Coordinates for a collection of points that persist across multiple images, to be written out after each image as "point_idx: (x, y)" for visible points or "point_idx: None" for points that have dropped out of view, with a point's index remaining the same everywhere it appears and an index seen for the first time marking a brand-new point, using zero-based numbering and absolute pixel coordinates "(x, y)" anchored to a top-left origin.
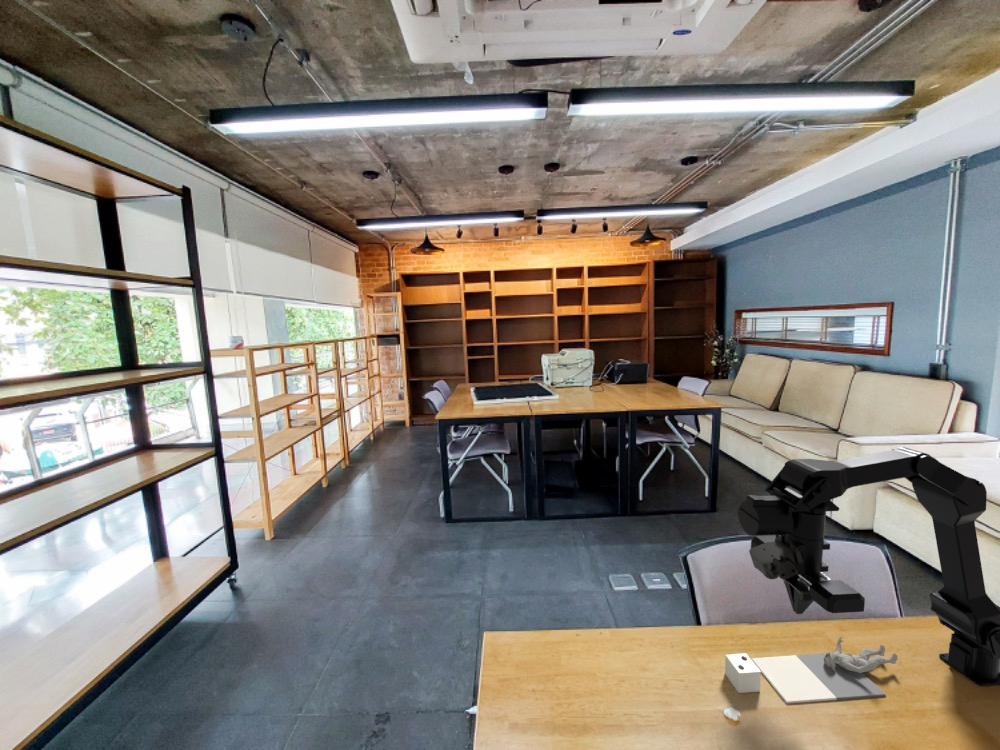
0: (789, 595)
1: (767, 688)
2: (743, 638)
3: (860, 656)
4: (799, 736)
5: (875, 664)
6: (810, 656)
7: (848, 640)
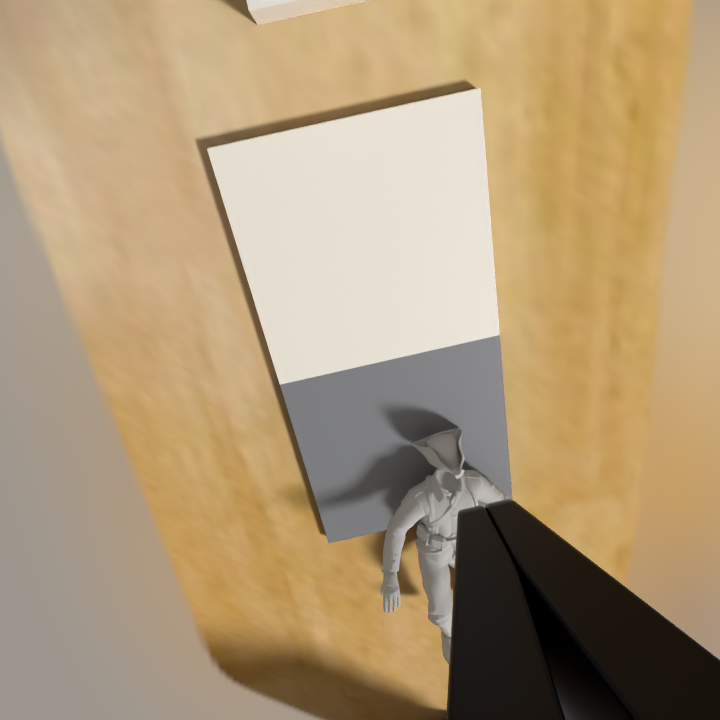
0: (648, 639)
1: (289, 86)
2: (631, 117)
3: None
4: (15, 111)
5: (425, 585)
6: (491, 391)
7: None
